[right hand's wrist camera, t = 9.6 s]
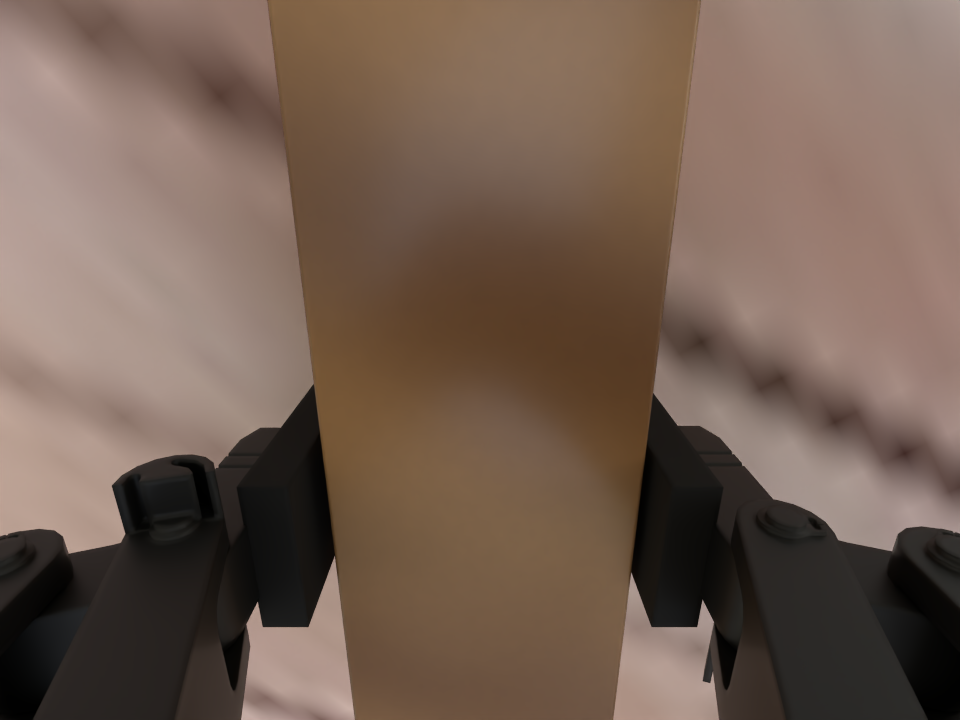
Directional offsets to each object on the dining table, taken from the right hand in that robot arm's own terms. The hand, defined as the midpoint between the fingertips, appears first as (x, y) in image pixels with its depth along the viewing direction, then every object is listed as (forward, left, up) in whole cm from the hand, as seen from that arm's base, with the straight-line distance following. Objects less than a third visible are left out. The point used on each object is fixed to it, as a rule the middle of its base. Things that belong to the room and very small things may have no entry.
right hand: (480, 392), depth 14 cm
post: (+27, -20, -2) cm, 34 cm away
